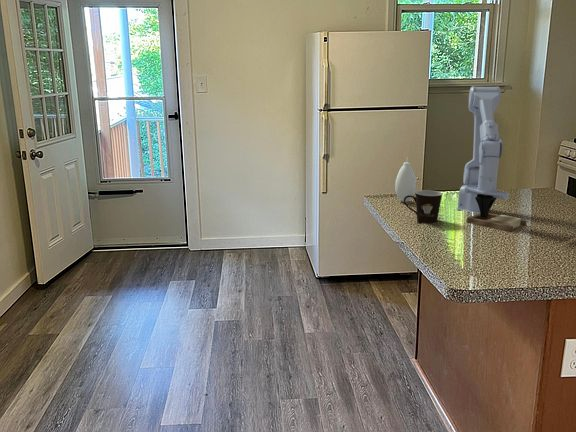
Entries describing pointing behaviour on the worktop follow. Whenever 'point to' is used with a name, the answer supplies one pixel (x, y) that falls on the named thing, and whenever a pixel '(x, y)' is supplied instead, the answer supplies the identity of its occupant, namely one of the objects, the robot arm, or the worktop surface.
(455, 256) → the worktop surface
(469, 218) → the walnut box
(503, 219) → the beige rectangular block
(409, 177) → the sauce bottle
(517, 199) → the worktop surface
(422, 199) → the coffee mug
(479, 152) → the robot arm
